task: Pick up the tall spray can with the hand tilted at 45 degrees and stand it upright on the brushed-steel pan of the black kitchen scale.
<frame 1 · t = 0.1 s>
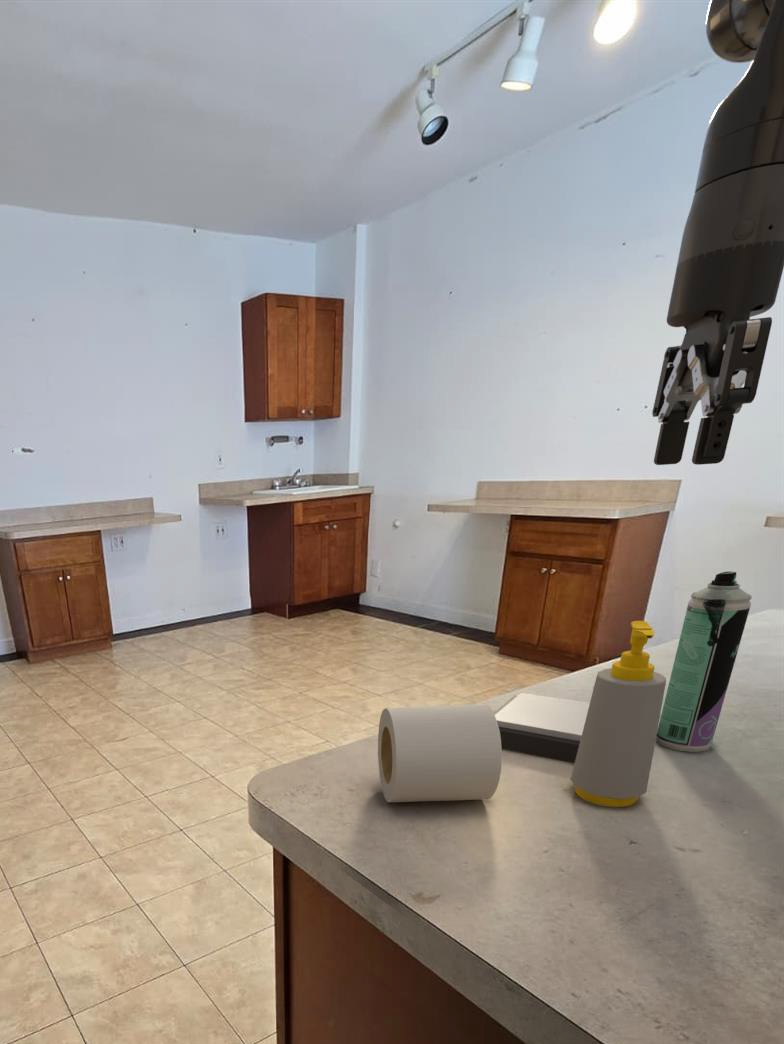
hand: (685, 464, 60), 31 cm above the countertop, tool pointing down, fingers open, 8 cm apart
spray can: (682, 744, 77), on the countertop
soap bottle: (605, 796, 67), on the countertop
toilet paper: (431, 797, 69), on the countertop
scale: (560, 738, 81), on the countertop
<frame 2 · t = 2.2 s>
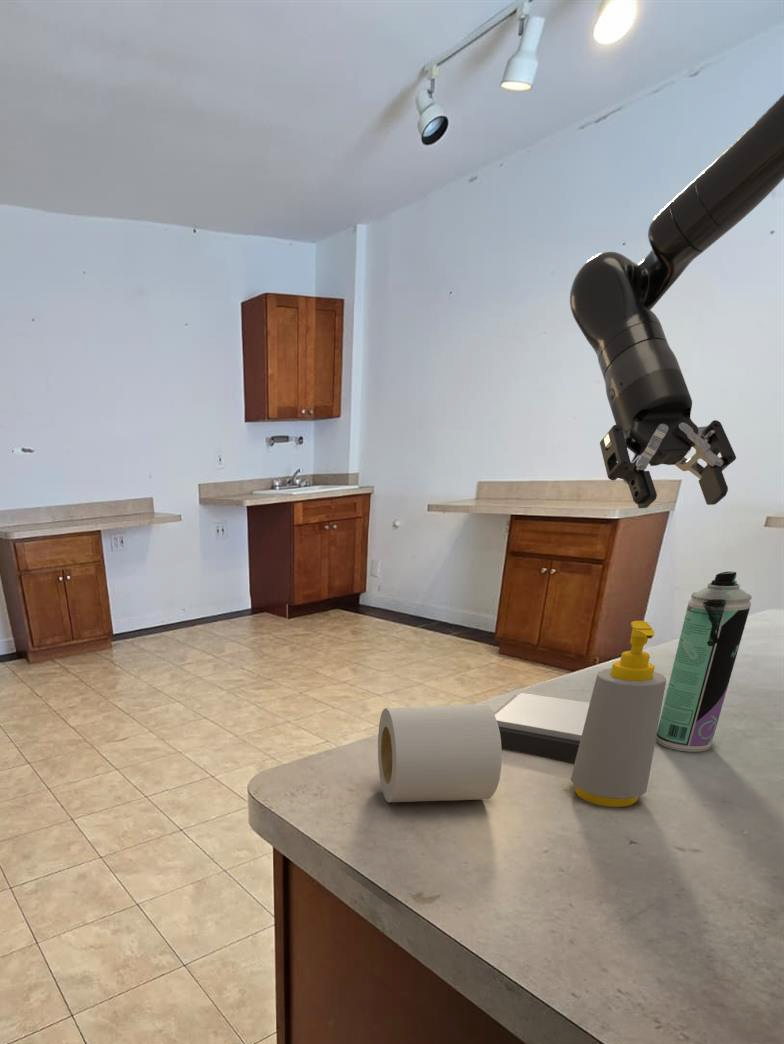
hand: (683, 502, 75), 27 cm above the countertop, tool tilted 40°, fingers open, 8 cm apart
nothing on the countertop moved.
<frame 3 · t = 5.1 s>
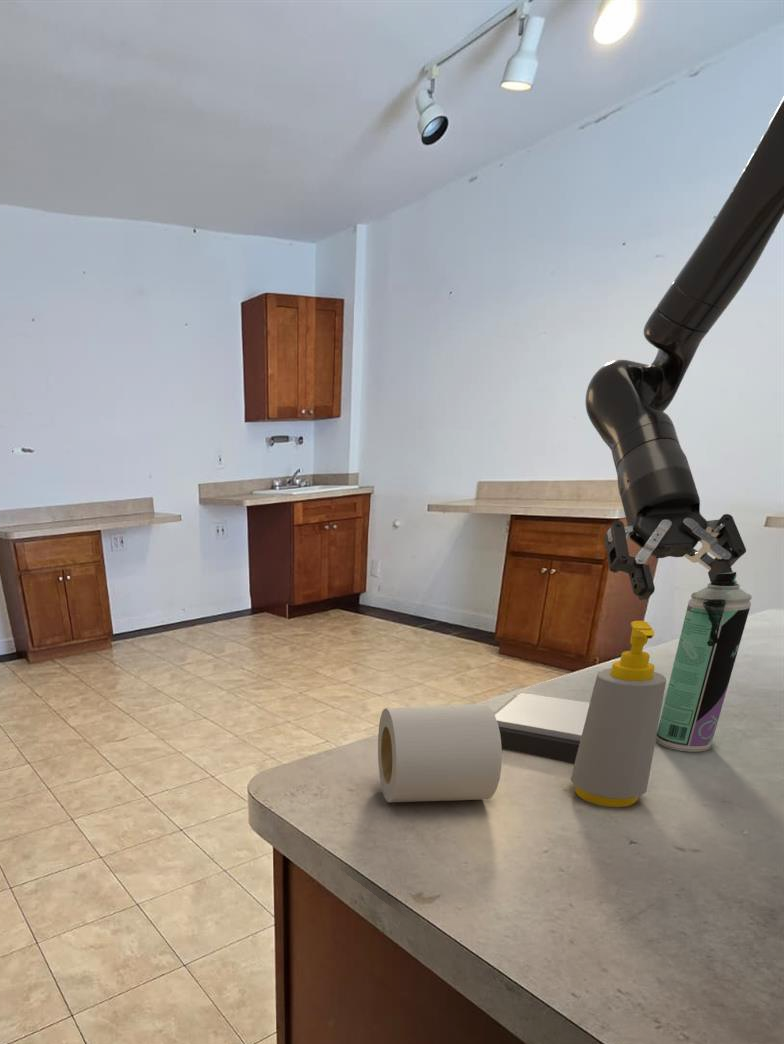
hand: (685, 594, 76), 17 cm above the countertop, tool tilted 45°, fingers open, 8 cm apart
nothing on the countertop moved.
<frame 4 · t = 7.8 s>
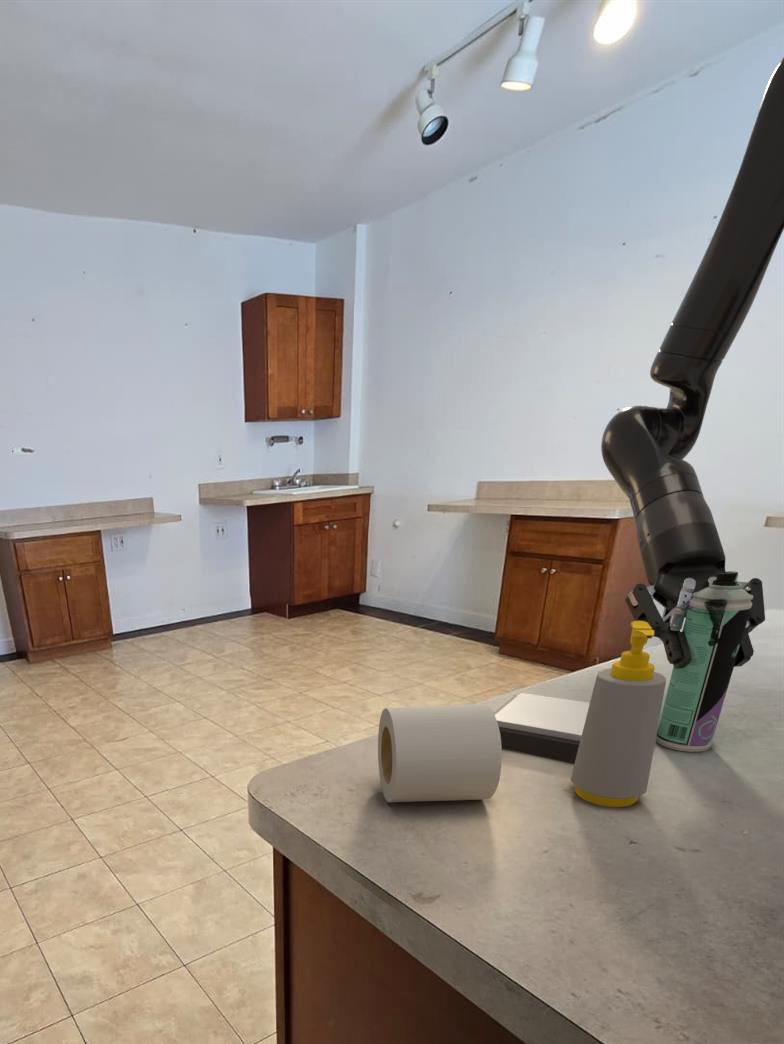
hand: (712, 663, 71), 10 cm above the countertop, tool tilted 45°, fingers closed on spray can, 5 cm apart
spray can: (681, 744, 77), on the countertop, touching gripper
everything else where it was.
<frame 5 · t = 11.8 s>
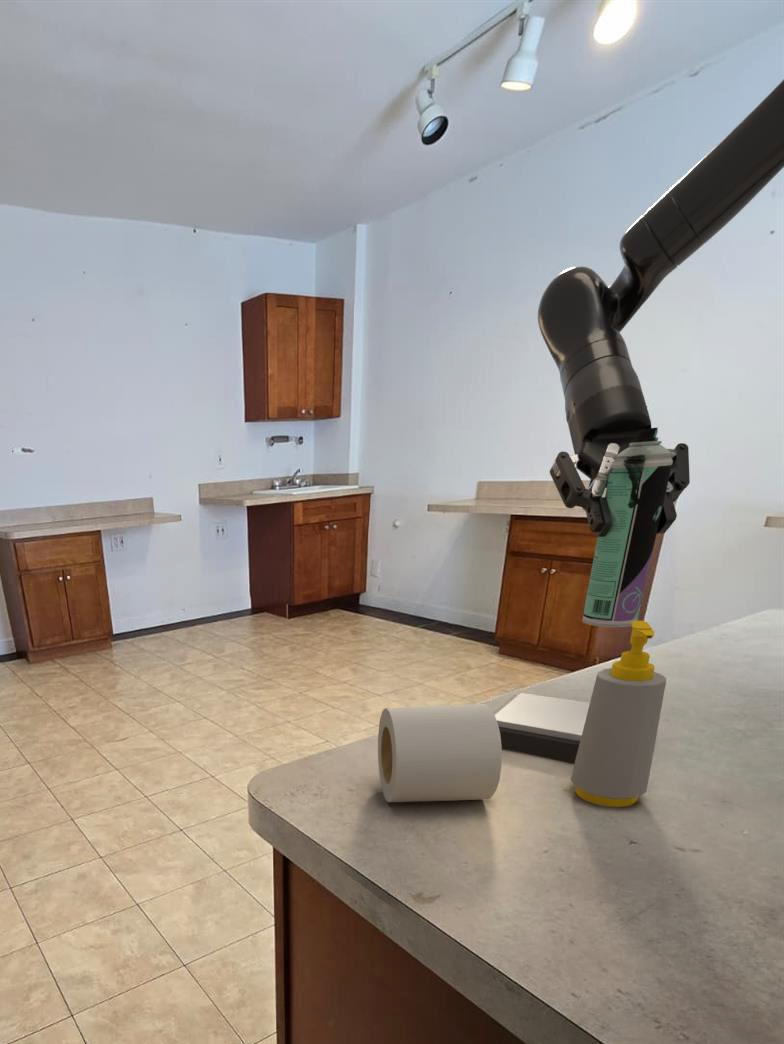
hand: (634, 529, 68), 25 cm above the countertop, tool tilted 45°, fingers closed on spray can, 5 cm apart
spray can: (608, 623, 74), point 14 cm above the countertop, touching gripper
everything else where it was.
when the fingers open (13 cm above the countertop, at t = 15.9 s): spray can stays where it is, resting on scale.
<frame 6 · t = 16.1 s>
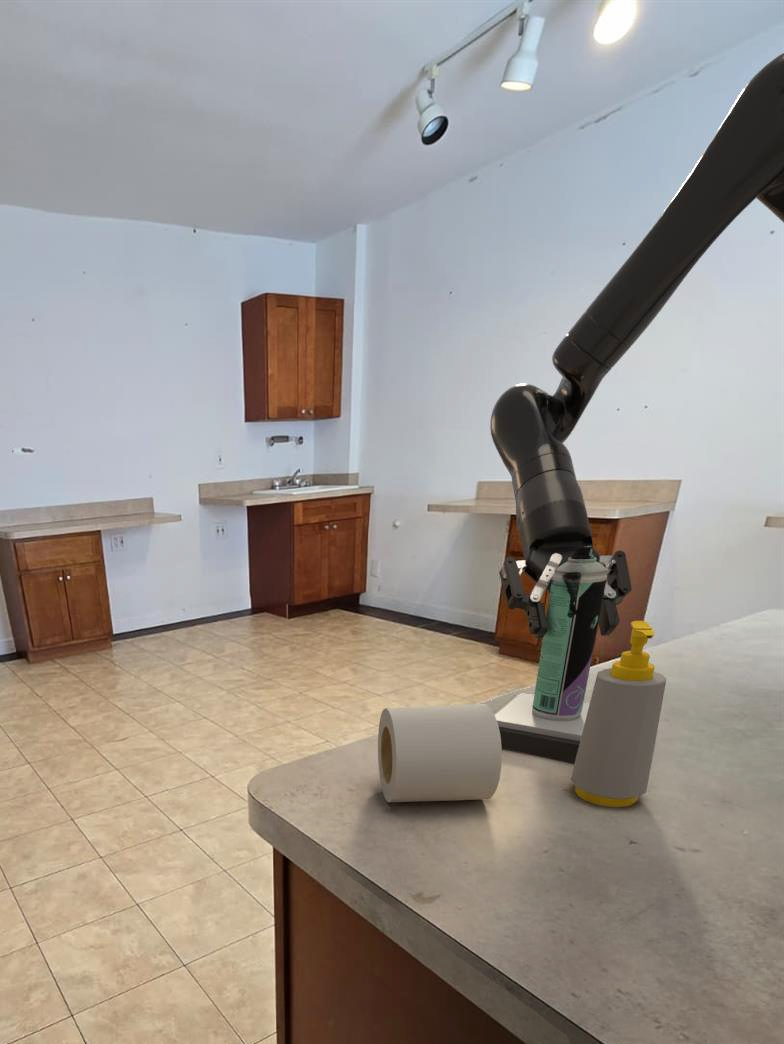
hand: (575, 633, 74), 14 cm above the countertop, tool tilted 45°, fingers open, 7 cm apart
spray can: (555, 714, 80), point 3 cm above the countertop, touching scale
everything else where it was.
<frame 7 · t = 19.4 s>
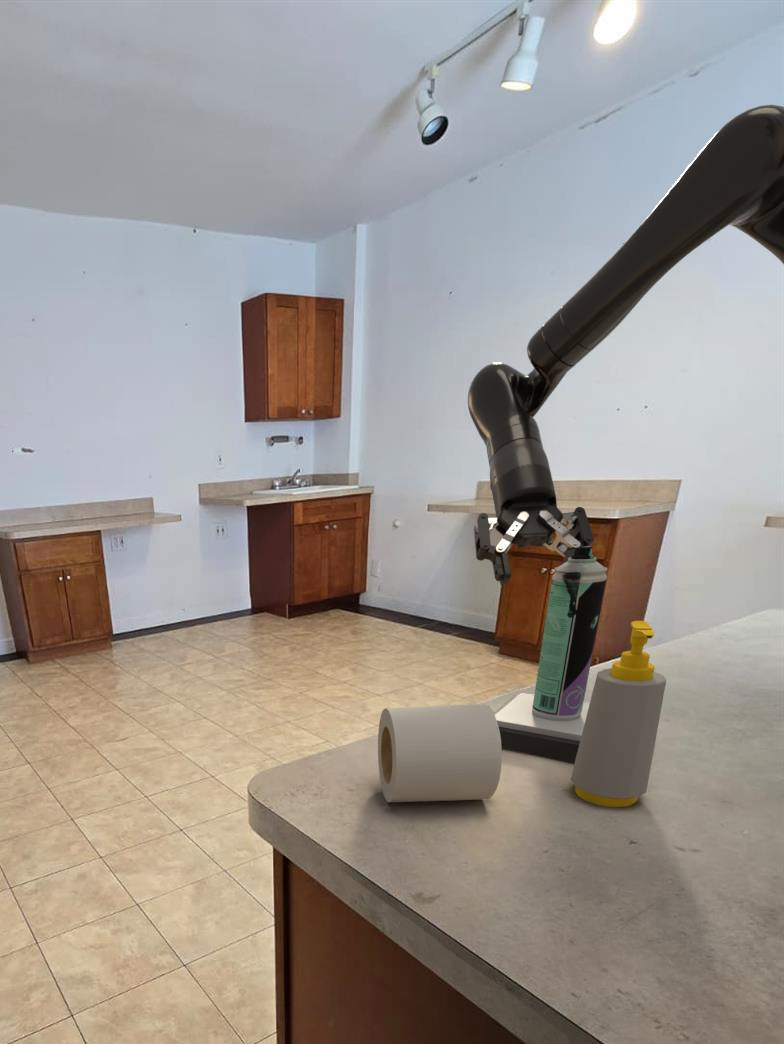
hand: (539, 579, 84), 18 cm above the countertop, tool tilted 45°, fingers open, 8 cm apart
nothing on the countertop moved.
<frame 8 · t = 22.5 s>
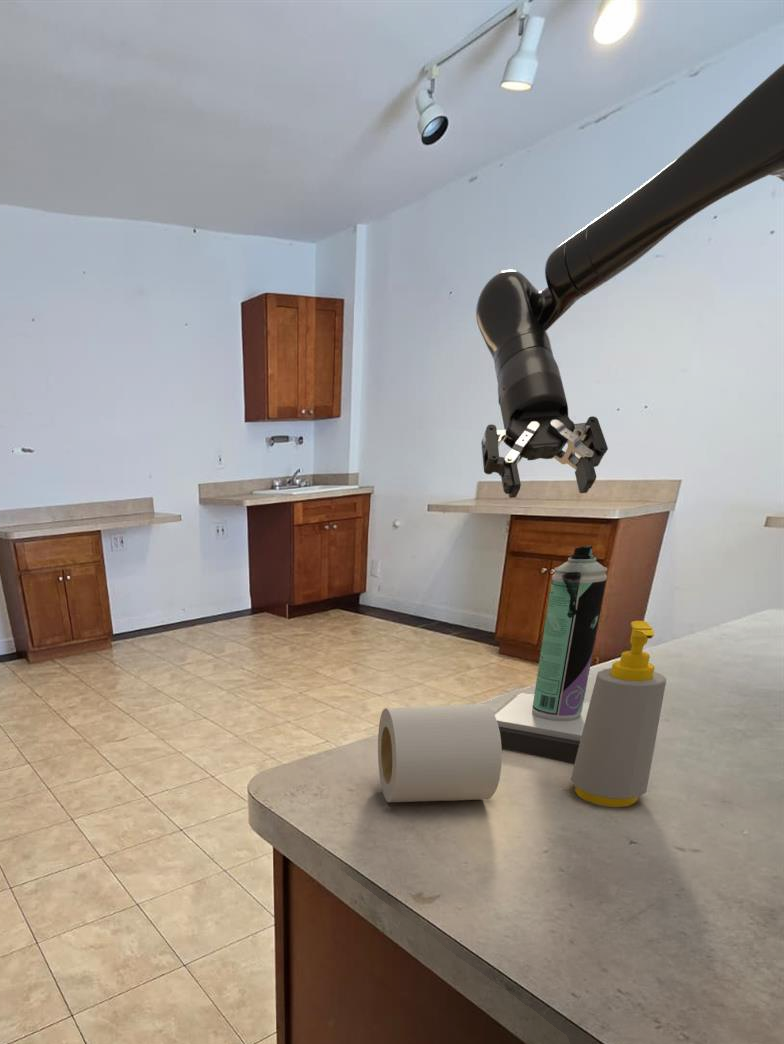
hand: (551, 490, 80), 29 cm above the countertop, tool tilted 45°, fingers open, 8 cm apart
nothing on the countertop moved.
at the end: spray can inside the target area on the scale (0.1 cm from its centre), point 3.0 cm above the scale's base; spray can tilted 0°; the gripper is holding nothing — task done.
